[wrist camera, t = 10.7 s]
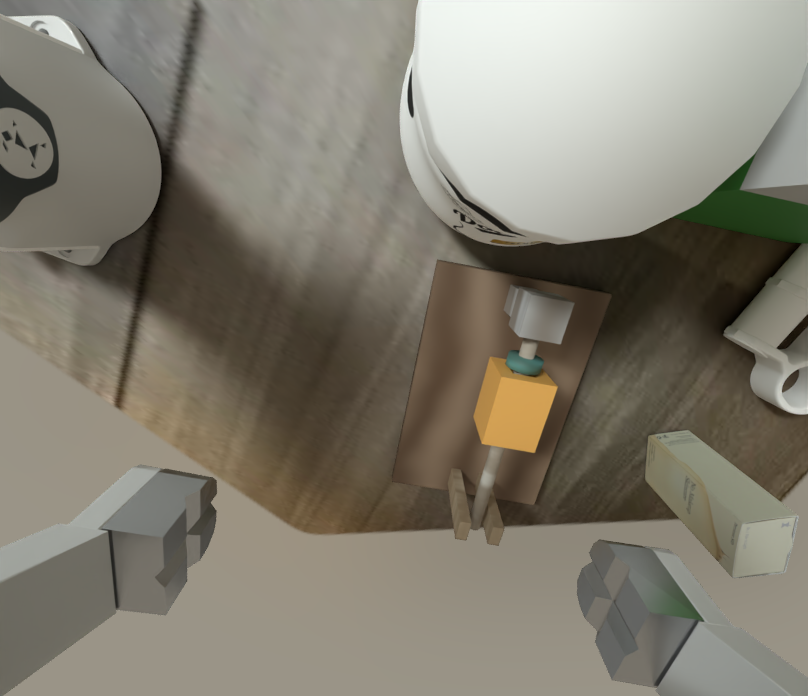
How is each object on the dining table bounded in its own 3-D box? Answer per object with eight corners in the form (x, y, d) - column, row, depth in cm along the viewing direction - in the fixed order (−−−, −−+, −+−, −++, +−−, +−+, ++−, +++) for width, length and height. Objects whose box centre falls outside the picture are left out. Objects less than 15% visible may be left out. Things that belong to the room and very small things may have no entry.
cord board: (392, 472, 42) (387, 536, 34) (437, 259, 35) (445, 273, 26) (529, 495, 43) (558, 563, 35) (604, 291, 35) (665, 315, 27)
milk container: (484, 281, 35) (550, 342, 18) (358, 121, 31) (294, 7, 14) (652, 146, 31) (939, 62, 14) (534, -58, 27) (739, -518, 10)
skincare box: (646, 433, 40) (740, 520, 29) (689, 428, 40) (802, 514, 28) (644, 481, 42) (730, 580, 31) (685, 477, 42) (787, 575, 30)
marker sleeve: (473, 416, 34) (481, 444, 30) (490, 356, 32) (501, 376, 28) (519, 424, 35) (534, 452, 30) (539, 365, 33) (557, 386, 29)
